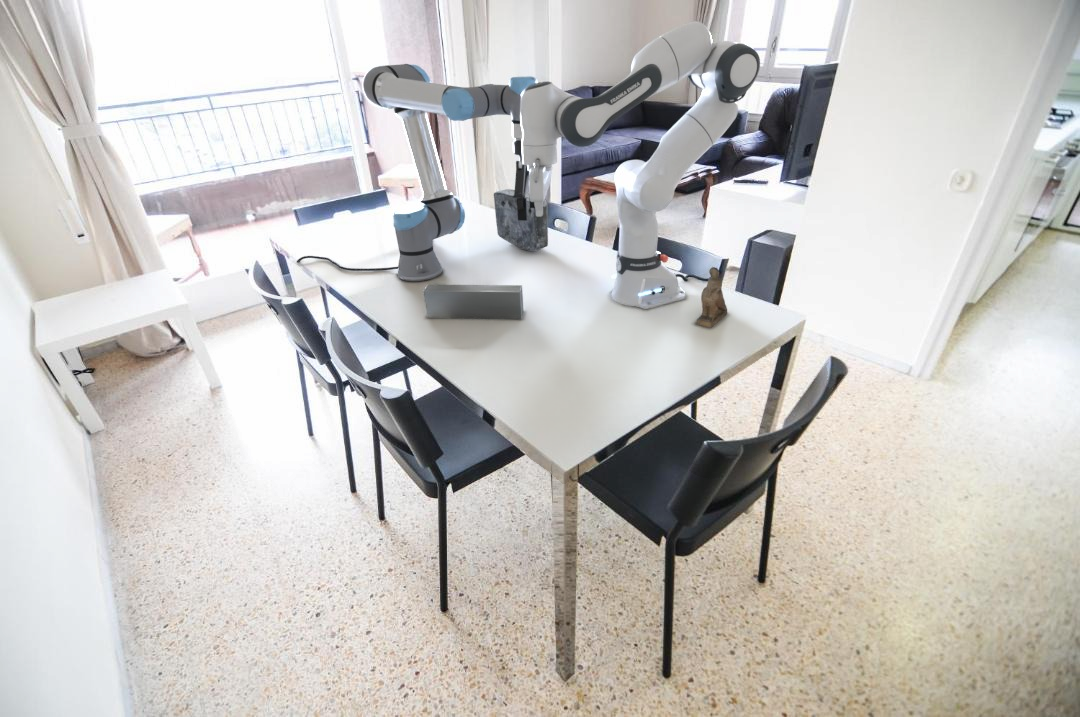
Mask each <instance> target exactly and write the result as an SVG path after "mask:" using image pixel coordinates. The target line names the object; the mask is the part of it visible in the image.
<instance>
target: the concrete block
mask: <svg viewBox="0 0 1080 717" xmlns="http://www.w3.org/2000/svg"><path fill="white" fill-rule="evenodd" d="M514 192H515V189H511V188H510V189H509V188H507V189H501V190H498V191H497V190H496V191H495V192H493V202H494V213H495V222H496V224H495V225H496V231H497V232H496V233H497V236H498V237H499V238H501V239H503V240H505V241H506V242H508V243H510V244H511V245H513V246H515V247H517V248H518V249H521V250H524V251H530V252H537V251H539V250H541V249H544V248H547V247H548V246H549V228H548V223H549V222H548V221H549V219H548V218H549V217H548V199H546V206H545V207H543V216H541V217H537V216H536V210H535V208H530V201H529V192H526V195H525V198H527V221H521V220H518V212H517V198H514Z"/></svg>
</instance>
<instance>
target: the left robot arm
mask: <svg viewBox="0 0 1080 717" xmlns="http://www.w3.org/2000/svg"><path fill="white" fill-rule="evenodd" d="M535 83H538V80H537V78H536V77H535V76H531V75H530V76H529V75H528V76H513V77H510V79H509V84H494V83H486V84H482V85H479V86H469V87H465V86H464V87H463V86H456V85H448V84H442V83H435V82H432V81H431V78H430V76H429V75H428V73H427V72H426V71H425V70H424V69H423V68H422V67H421V66H419V65H417V64H409V63H402V64H387V65H376V66H372V67H371V68H369V69H368V70H367V71H366V72H365V73H364V76H363V78H362V82H361V84H362V92H363V94H364V96H365V98H366V99H367V101H368V102H369V103H370V104H371V105H373V106H375V107H376V108H381V109H387V110H392V109H393V112H394V114H395V116H396V117H397V118H399V119H400V120H401V122H402V126H403V130H404V134H405V136H406V141H407V143H408V147H409V150H410V153H411V156H412V157H411V158H412V162H413V164H414V169H415V171H416V174H417V178H418V182H419V185H420V189H421V192H422V196H421V197H420V199H419V200H420V202H412V203H407V204H404V205H401V206H399V207H397V208H396V209H395V210H394V212H393V213H392V219H393V228H394V230H395V231H394V232H395V236H396V241H397V247H398V251H399V259H398V265H397V266H391V267H379V268H378V267H377V268H376V267H375V268H373V267H371V268H353V267H346V266H342V265H340V264H339V263H337V262H336V261H334V260H332V259H331V258H329V257H325V256H317V255H304V256H302V257H300V258H298V259H297V261H296V263H300V262H301V261H302V260H305V259H316V260H317V259H318V260H326V261H329V262H330V263H331V264H333V265H335V266H336V267H338V268H339V269H341V270H344V271H349V272H350V271H352V272H376V271H377V272H378V271H391V270H392V271H393V270H397V276H398V278H399V279H400V280H402V281H406V282H413V283H414V282H425V281H429V280H432V279H435V278H438V277H439V276H440V275H441V274H442V273H443V268H442V264H441V263H440V260H439V259H438V256H437V254H436V252H435V250H434V243H433V240H436V239H439V238H441V237H444V236H447V235H451V234H454V233H455V232H456V231H457V232H458V231H459V230H460V229H461V228H463V225H464V224H465V220H466V212H465V207H464V205H463V204H462V203H463V202H460V199H459V198H457V197H454V193H453V191H451V190H450V189H448V187H447V184H446V180H445V176H444V172H443V169H442V168H443V167H442V165H441V161H440V158H439V154H438V149H437V145H436V143H435V139H434V135H433V132H432V127H431V123H430V120H429V116H428V113H430V114H437V115H441V116H446V117H447V118H448V119H449V120H451V121H455V122H458V121H460V122H464V121H467V120H472V119H478V118H483V117H491V116H500V115H501V116H502V115H503V116H510V117H511V137H512V139H513V141H512V152H513V154H514V155H516V156H519V160H516V161H515V169H516V170H515V179H514V180H515V181H514V190H515V192H514V198H517V212H518V220H521V221H527V198H525V195H526V193H527V188H528V183H529V171H528V165H524V164H523V163H522V144H521V142H522V137H523V132H522V128H521V124H520V101H521V94H522V91H523V90H524V89H525V88H526V87H527V86H529V85H532V84H535ZM529 201H530V197H529ZM530 208H535V205H534V202H531V201H530Z"/></svg>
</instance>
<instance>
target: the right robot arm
mask: <svg viewBox="0 0 1080 717" xmlns="http://www.w3.org/2000/svg"><path fill="white" fill-rule="evenodd" d="M630 65H631V66H630V72H629V74H628V75H627V76H626V77H624V78H623V79H622V80H620V81H619V82H618V83H616V84H614V85H613V86H612V87H610V88H609V89H607V90H605V91H604V92H602V93H601V94H599V95H597V96H594V97H585V98H583V97H581V96H578V95H575V94H571V93H569V92H567V91H565V90H563V89H561V88H559V87H558V86H557V85H555V84H554V83H553V82H552V81H539V82H537V83H535V84H532V85H529V86H527V87H526V88H525V89H524V90H523V91H522V94H521V101H520V124H521V128H522V132H523V137H522V142H521V144H522V163H523V164H524V165H528V171H529V180H528V193H529V197H530V201H531V202H534V205H535V210H536V216H537V217H541V216H543V207H545V206H546V200H547V197H548V196H547V195H548V191H549V188H550V185H551V184H552V183H551V182H552V171H553V165H555V164H557V162H558V139H559V138H564V139H566V140H567V141H568V142H569V143H570V144H571V145H573V146H574V147H577V148H578V147H580V148H582V147H583V148H585V147H589V146H592V145H593V144H595V143H596V142H598V140H599V139H601V138H602V136H603V135H604V133H605V132H606V130H607V129H608V128H609V127H610V125H612V124H613V123H614V122H615V121H617V120H618V119H619V118H620V117H622V116H624V115H625V114H627V113H628V112H629V111H631V110H632V109H634V108H635V107H638V105H640V104H641V103H642V102H644V101H646V100H647V99H649V98H651V97H653V96H655V95H657V94H660V93H661V92H663V91H665V90H667V89H669V88H671V87H672V86H674V85H675V84H678V83H679V82H681V81H682V80H684V79H685V78H687V79H688V80H689V82H690V83H691V84H692V85H693V86H694V87H696V88H699V89H701V90H702V91H701V94H700V96H699V98H698V99H697V101H696V103H694V105H693V106H692V107H691V108H690V109H688V111H686V112H685V113H684V114H683V115H682V116H681V117H680V118H679V119H678V120H677V121H676V122H675V123H674V124H673V125H672V126H671V127H670V128H669V129H668V130H667V131H666V132H665V133H664V134H663V135H662V136H661V138H660V140H659V144H658V146H657V148H656V149H655V150H654V152H653V154H652V155H651V156H650V158H649V159H648V160H647V161H644V160H641V159H630V160H626V161H624V162H622V163H621V164H619V166H618V167H617V169H616V170H615V172H614V176H613V181H614V186H615V193H616V204H617V214H618V223H619V224H618V225H619V234H618V251H617V252H616V261H615V267H616V268H615V270H616V273H615V274H613V275H611V279H612V280H613V279H614V285H613V288H612V291H611V293H610V297H611V299H612V300H613V301H614V302H616V303H619V304H620V305H624V306H631V307H637V308H641V309H645V310H649V309H653V308H656V307H659V306H660V307H661V306H664V305H667V304H670V303H674V302H678V301H682V300H684V299H686V293H685V291H684V290H683V289H682V288H681V287H680V286H679V280H678V278H681V279H682V281H683V282H688V281H689V278H692V279H696V280H698V281H702V282H708V279H709V278H710V277H707V278H704V277H700V276H698V275H696V274H686V275H684V274H681V273H675V272H673V270H672V271H671V270H670V269H669V268H668V267H667V266H665V264H663V263H668V261H669V257H668V256H667V255H666V254H665V253H663V254H662V253H661V252H660V251H658V241H659V232H660V231H659V230H660V226H659V222H658V219H657V214H656V212H657V213H658V212H660V211H663V210H665V209H666V208H667V207H668V206H670V204H671V202H672V201H673V198H674V196H675V190H676V188H677V187H678V185H679V184H680V182H681V180H682V179H683V178H684V176H685V174H686V173H688V171H689V170H690V168H691V167H692V166H693V165H695V163H696V162H697V161H698V160H699V159H701V157H702V156H703V155H705V153H706V152H707V151H708V150H710V149H711V147H713V146H714V145H715V144H716V143H717V142H718V141H719V140H720V138H722V136H723V135H724V134H725V133H726V131H727V130H728V129H729V128H730V127H731V125H732V124H733V122H734V121H735V120H736V118H737V116H738V114H739V113H738V112H739V107H738V103H737V102H739V101H741V100H743V99H744V97H745V96H746V94H747V91H749V90H750V89H751V87H752V86H753V85H754V83H755V81H756V80H757V77H758V75H759V72H760V69H761V59H760V55H759V53H758V52H757V51H756V49H755V48H753V47H752V46H750V45H749V44H747V43H743V42H740V43H739V42H734V41H731V40H730V41H729V40H724V41H721V40H720V41H719V40H718V41H717V40H714V41H713V39H712V35H711V32H710V30H709V29H708V27H707V25H705V23H703V22H701V21H698V20H697V21H696V20H693V21H690V22H686V23H684V24H681V25H679V26H677V27H675V28H673V29H671V30H668V31H667V32H665V33H663V34H661V35H659V36H657V37H656V38H654V39H653V40H651V41H650V42H648V43H647V44H646V45H644V47H642V48H641V49H640V50H639V51H638V52H637V53H636V54H635V55H634V56H633V58H632V62H631V64H630ZM720 273H721V272H720V271H719V274H720Z"/></svg>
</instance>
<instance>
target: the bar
mask: <svg viewBox="0 0 1080 717" xmlns="http://www.w3.org/2000/svg"><path fill="white" fill-rule="evenodd" d="M422 292H423V298H424V304H425V305H424V306H425V311H426V317H427V319H461V320H462V319H465V320H466V319H467V320H469V319H470V320H471V319H472V320H520V321H521V320H522V318H523V316H524V298H523V297H524V294H523V285H520V284H519V285H517V284H516V285H515V284H511V285H510V284H431V283H430V284H427V285H426V286H425V288H424V289H423V290H422Z"/></svg>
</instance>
